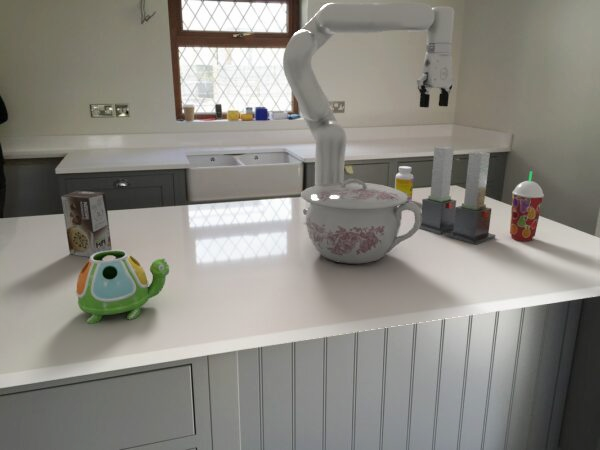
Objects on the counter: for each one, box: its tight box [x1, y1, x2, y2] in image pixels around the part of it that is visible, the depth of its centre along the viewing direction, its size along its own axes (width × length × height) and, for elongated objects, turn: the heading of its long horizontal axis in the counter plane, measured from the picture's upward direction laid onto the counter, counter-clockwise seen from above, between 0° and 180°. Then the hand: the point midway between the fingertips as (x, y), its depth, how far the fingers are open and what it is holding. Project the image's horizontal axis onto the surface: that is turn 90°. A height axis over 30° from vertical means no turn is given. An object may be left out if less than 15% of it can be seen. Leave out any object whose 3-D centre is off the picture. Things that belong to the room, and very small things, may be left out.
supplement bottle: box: [394, 165, 414, 203], centre depth 189 cm, size 7×7×13 cm
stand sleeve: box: [419, 197, 457, 235], centre depth 156 cm, size 10×10×9 cm
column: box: [427, 146, 455, 203], centre depth 153 cm, size 5×5×18 cm
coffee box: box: [61, 190, 113, 258], centre depth 131 cm, size 9×6×16 cm
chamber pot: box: [300, 178, 422, 265], centre depth 130 cm, size 28×28×21 cm
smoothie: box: [509, 171, 545, 242], centre depth 145 cm, size 8×8×20 cm
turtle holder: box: [75, 249, 170, 324], centre depth 101 cm, size 12×18×12 cm
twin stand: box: [445, 150, 496, 245], centre depth 145 cm, size 10×10×25 cm
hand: (433, 106), depth 160 cm, fingers open, 9 cm apart
